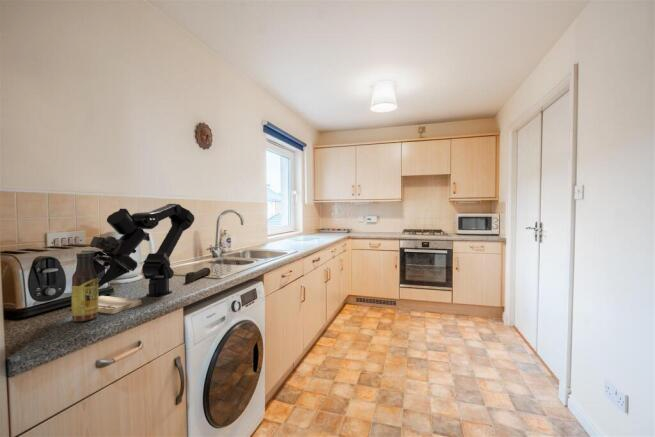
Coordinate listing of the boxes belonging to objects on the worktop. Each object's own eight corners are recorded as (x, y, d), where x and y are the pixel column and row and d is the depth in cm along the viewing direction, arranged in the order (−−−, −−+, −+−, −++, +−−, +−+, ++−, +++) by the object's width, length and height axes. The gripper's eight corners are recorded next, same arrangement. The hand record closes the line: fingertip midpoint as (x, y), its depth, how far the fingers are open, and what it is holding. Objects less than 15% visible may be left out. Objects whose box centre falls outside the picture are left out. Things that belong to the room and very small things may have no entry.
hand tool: (203, 274, 149) (203, 265, 149) (210, 275, 148) (210, 265, 148) (179, 284, 130) (179, 274, 130) (188, 284, 129) (187, 274, 129)
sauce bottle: (88, 322, 85) (87, 254, 85) (65, 323, 85) (64, 254, 84) (104, 314, 92) (102, 251, 91) (83, 315, 91) (81, 251, 91)
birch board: (102, 299, 107) (102, 295, 107) (141, 304, 102) (141, 299, 102) (70, 309, 97) (69, 304, 97) (111, 314, 92) (111, 309, 92)
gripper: (92, 226, 98) (51, 265, 88) (126, 227, 89) (84, 271, 80) (119, 246, 105) (83, 284, 96) (152, 250, 97) (116, 292, 87)
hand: (90, 283), depth 89 cm, fingers open, 9 cm apart
